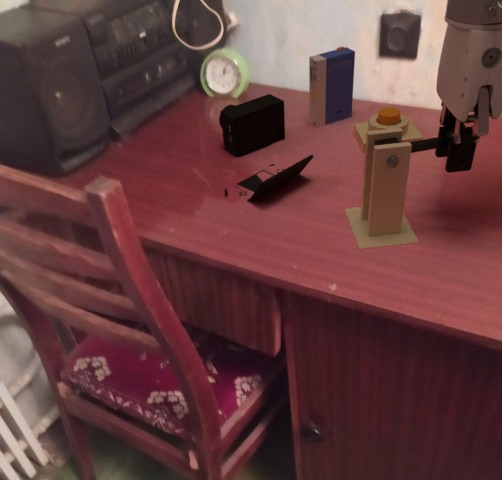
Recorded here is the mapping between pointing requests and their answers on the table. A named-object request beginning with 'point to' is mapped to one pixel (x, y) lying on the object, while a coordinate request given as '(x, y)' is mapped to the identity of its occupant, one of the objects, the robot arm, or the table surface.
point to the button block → (405, 124)
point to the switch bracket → (383, 193)
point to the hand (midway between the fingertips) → (452, 161)
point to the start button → (389, 116)
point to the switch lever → (424, 142)
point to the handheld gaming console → (271, 179)
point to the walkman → (331, 86)
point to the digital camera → (252, 124)
